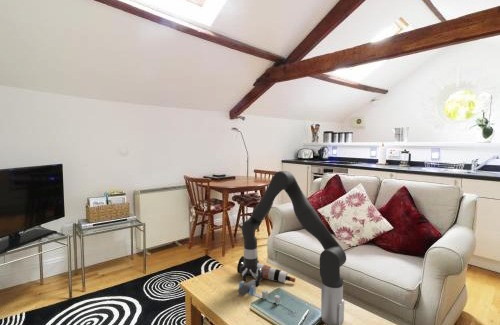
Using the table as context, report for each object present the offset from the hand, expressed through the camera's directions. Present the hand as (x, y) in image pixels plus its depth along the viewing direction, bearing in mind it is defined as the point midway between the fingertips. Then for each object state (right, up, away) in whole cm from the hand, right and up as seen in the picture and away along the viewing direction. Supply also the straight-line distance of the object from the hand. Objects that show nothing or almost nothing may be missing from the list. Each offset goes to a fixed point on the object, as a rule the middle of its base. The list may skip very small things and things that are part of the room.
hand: (250, 284), depth 148 cm
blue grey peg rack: (+4, -3, -7) cm, 9 cm away
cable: (+9, -2, +11) cm, 15 cm away
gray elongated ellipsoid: (-2, -3, -2) cm, 4 cm away
